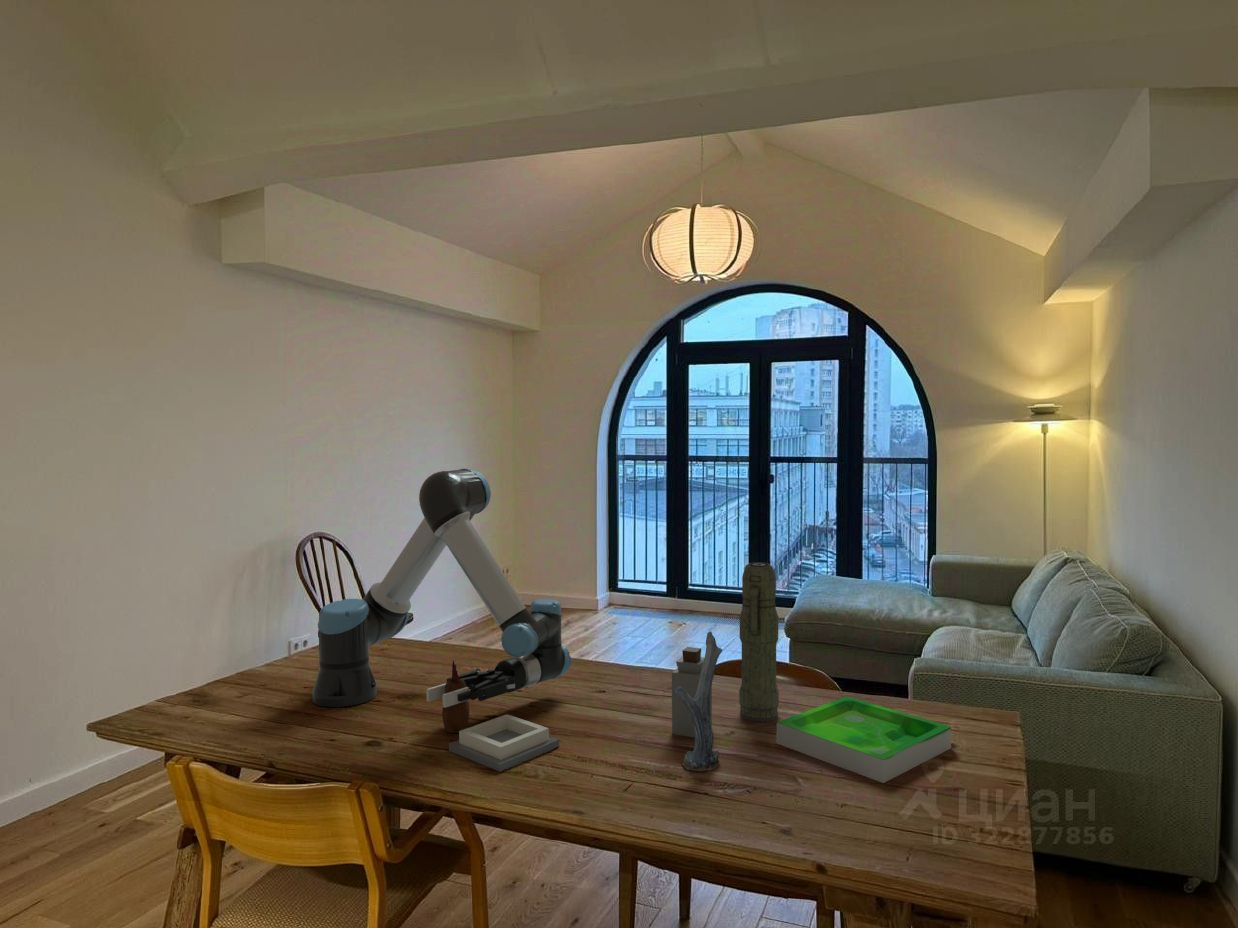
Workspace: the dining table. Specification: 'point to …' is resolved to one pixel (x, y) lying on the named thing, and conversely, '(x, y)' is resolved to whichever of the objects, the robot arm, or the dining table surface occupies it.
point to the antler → (702, 712)
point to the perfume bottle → (689, 680)
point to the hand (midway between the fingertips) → (435, 698)
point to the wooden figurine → (455, 706)
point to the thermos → (759, 643)
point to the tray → (864, 737)
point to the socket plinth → (503, 742)
